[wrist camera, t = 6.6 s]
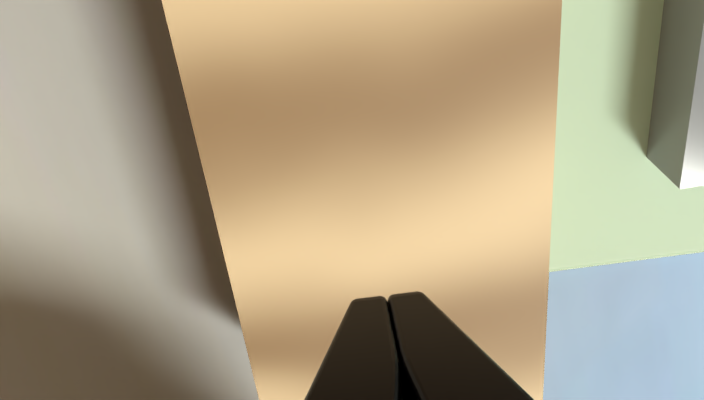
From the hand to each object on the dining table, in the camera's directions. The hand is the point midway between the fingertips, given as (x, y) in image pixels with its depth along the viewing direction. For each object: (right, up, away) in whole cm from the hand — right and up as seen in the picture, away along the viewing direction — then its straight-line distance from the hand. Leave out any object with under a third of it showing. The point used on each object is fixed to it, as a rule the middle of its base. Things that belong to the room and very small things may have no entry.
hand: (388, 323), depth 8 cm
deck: (0, +6, +10) cm, 11 cm away
